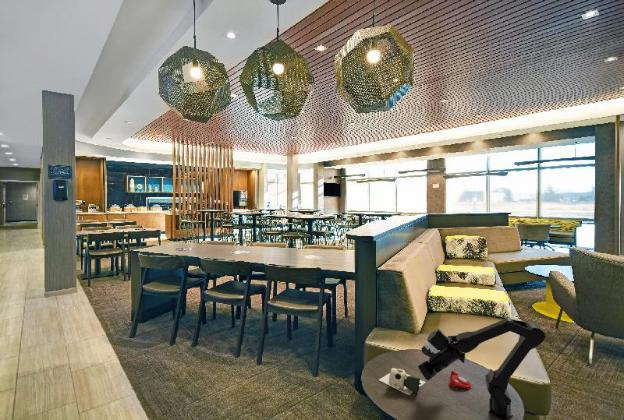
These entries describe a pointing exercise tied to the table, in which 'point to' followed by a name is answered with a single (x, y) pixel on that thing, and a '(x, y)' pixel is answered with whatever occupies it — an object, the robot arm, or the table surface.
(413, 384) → the character mug
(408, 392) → the oatmeal mat
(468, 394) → the table surface
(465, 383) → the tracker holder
